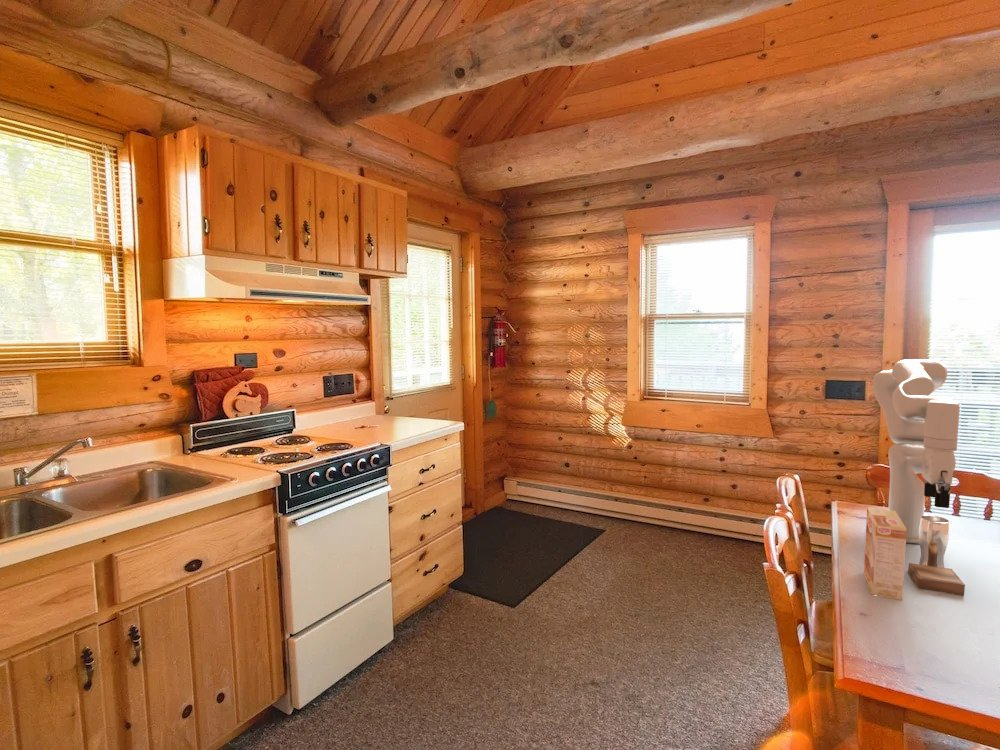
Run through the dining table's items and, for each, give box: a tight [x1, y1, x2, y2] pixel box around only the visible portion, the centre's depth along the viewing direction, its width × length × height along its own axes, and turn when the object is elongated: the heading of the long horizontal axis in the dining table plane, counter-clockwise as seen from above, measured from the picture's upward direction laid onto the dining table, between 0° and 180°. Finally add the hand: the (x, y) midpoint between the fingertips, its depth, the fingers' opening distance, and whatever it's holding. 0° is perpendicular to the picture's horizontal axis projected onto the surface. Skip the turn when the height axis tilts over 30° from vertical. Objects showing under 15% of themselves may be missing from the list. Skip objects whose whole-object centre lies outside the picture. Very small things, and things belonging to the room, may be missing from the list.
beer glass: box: [918, 514, 950, 568], centre depth 161 cm, size 7×7×15 cm
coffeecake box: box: [863, 507, 907, 601], centre depth 151 cm, size 15×7×20 cm, turn 154°
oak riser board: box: [907, 562, 966, 597], centre depth 153 cm, size 10×10×3 cm
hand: (936, 501), depth 160 cm, fingers open, 9 cm apart
